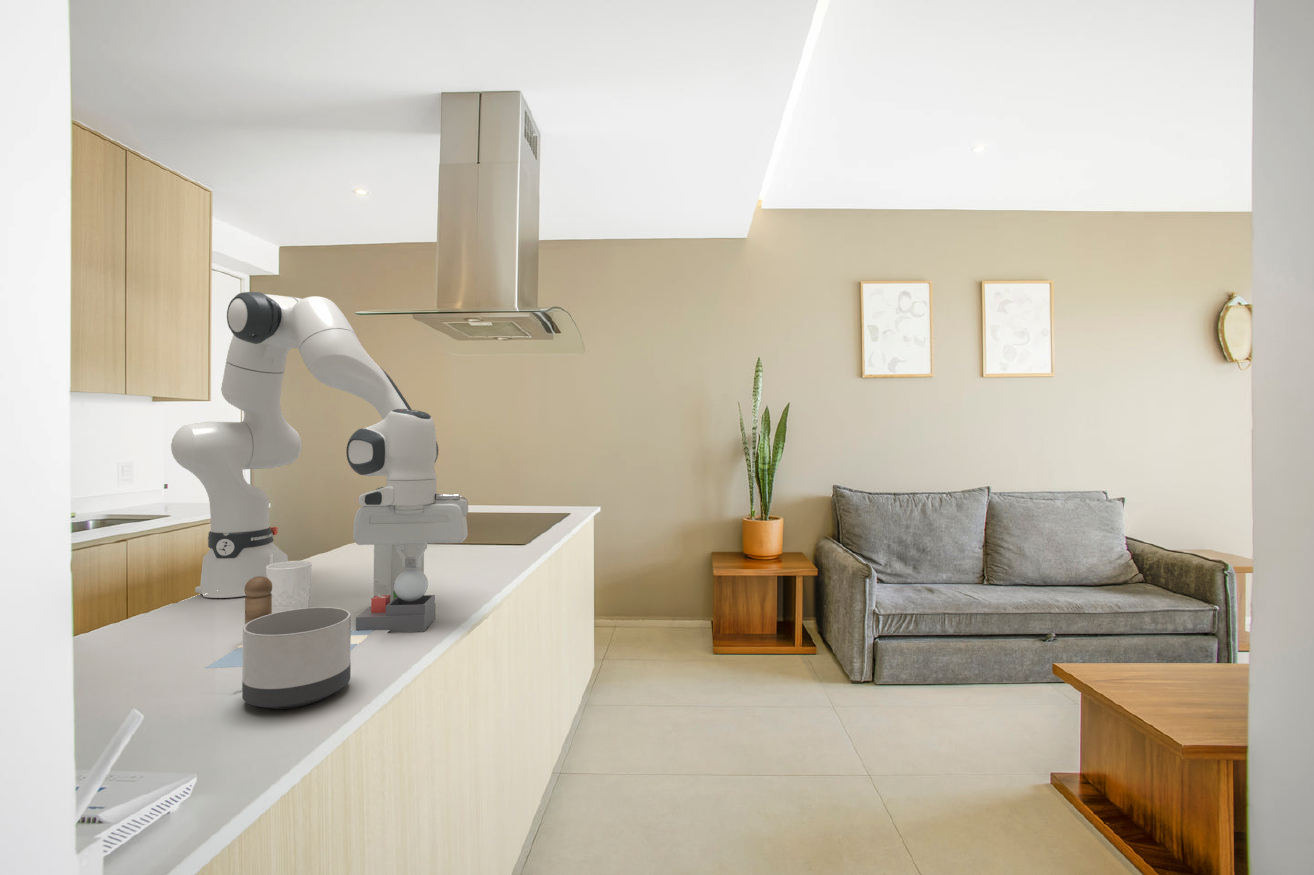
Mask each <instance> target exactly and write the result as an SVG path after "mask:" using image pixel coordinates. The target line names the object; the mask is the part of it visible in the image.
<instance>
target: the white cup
mask: <svg viewBox="0 0 1314 875" xmlns="http://www.w3.org/2000/svg"><path fill="white" fill-rule="evenodd" d="M312 563H313V562H311V561H309V560H288V561H287V562H279V563H274V564H270V565H268V566H266V578H268V579H269V580H270V581H271V582H272V591H271V594H272V614H273V613H277V612H282V611H287V610H294V609H301V608H309V603H310V601H309V600H310V597H311V596H310V595H311V585H312V584H311V583H312V569H313V568H312V567H313V564H312Z"/></svg>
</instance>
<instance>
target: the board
mask: <svg viewBox="0 0 1314 875" xmlns="http://www.w3.org/2000/svg"><path fill="white" fill-rule="evenodd" d="M373 631H374V630H359V631H356V630H351V651H353V649H354V648H355V647H356V646H357V645H360V644H361V643H362V642H364V641H365V640H366V639H367V638H368V637H369V636H370V634H371V633H372V632H373ZM242 655H243V643H242V644H240V645H237V647H236V648H235V649H234V650H231V651H230V652H229V653H227V654H225V655H223V656H222V657H221V658H219V659H217V660H216V661H214V662H212V663H210V664H208V665H207V666H206V667H204V669H214V668H215V669H217V668H242Z"/></svg>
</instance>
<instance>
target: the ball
mask: <svg viewBox="0 0 1314 875" xmlns="http://www.w3.org/2000/svg"><path fill="white" fill-rule="evenodd" d="M428 588H429V580H428V578H427V575H426V574H425V572H424V573H423V572H422V571H420V570H417V569H408V570H405V571H403V572H402V573H400V574H399V575H398V577H397V578H396V580H395V583H394V590H395V593H396V595H397V596H398V597H399V598H400V599H402V600H404V601H415V600H418V599H419V598H421V597H422V596H423V595H426V593H427V590H428Z"/></svg>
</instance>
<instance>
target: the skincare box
mask: <svg viewBox="0 0 1314 875" xmlns="http://www.w3.org/2000/svg"><path fill="white" fill-rule="evenodd" d="M419 550H420V549H419ZM419 550H417V544H407V548H405V551H406V553H407V554H408V556H409V557H416V556H417V554H418V552H419ZM424 563H425V552H424V553H423V555H422V557H421V566H420V567H418V568H403V562H402V558H401V557H400V555H399V554H398V552H397V551H396V544H381V545H373V592H372V594H373V595H372V598H373V597H374V596H376V595H390V602H391V601H392V600H393V599H395V598H396V597H397V595H396V593H395V590H394V583H395V580H396V578H397V577H398V575H399V574H400V573H402V572H403V571H405V570H408V569H417V570H420V571H422V572H423V573H424V574H425V564H424Z"/></svg>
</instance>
